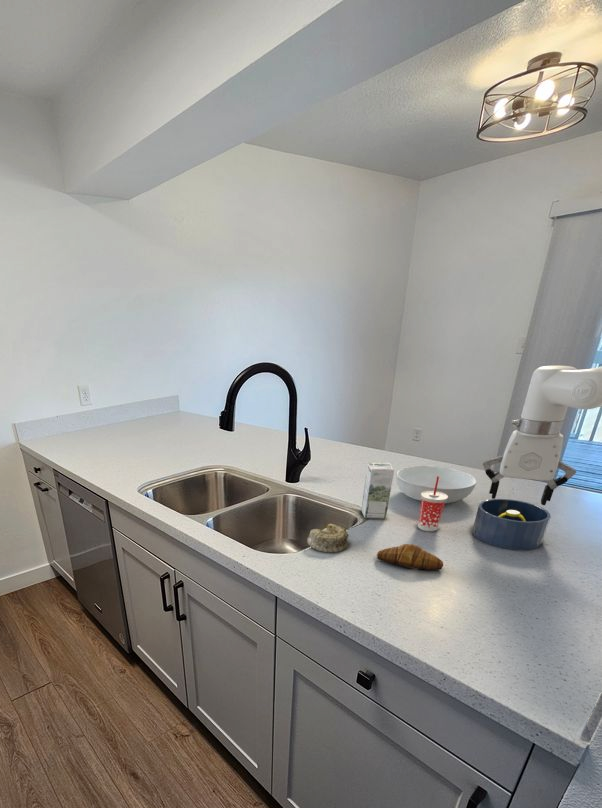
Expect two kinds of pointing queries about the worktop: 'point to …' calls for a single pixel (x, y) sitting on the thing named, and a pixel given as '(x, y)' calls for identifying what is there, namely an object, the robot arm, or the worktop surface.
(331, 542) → the beige coiled mound
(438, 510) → the beverage cup
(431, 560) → the croissant
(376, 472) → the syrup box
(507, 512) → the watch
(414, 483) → the serving bowl
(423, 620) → the worktop surface
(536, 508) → the blue pet bowl
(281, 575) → the worktop surface
